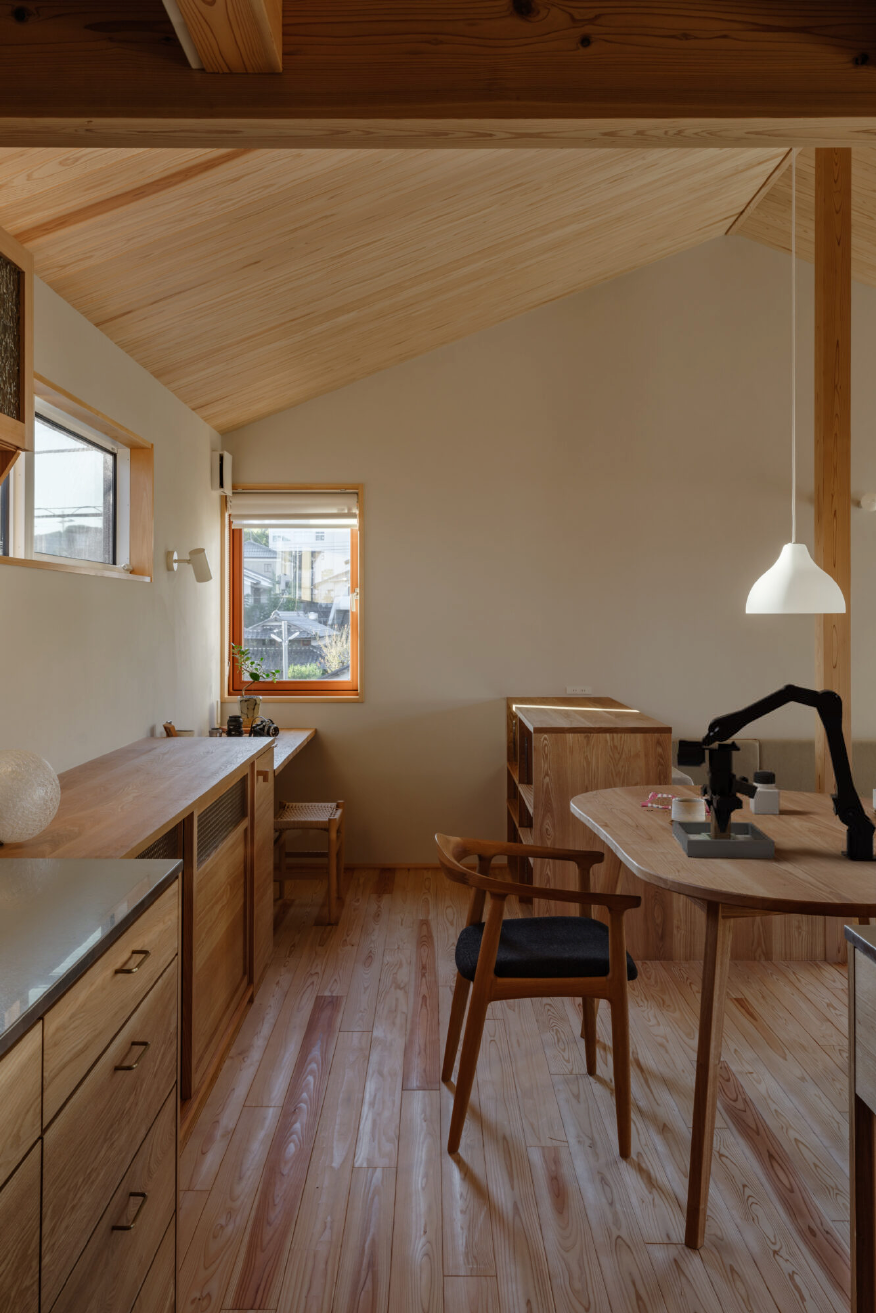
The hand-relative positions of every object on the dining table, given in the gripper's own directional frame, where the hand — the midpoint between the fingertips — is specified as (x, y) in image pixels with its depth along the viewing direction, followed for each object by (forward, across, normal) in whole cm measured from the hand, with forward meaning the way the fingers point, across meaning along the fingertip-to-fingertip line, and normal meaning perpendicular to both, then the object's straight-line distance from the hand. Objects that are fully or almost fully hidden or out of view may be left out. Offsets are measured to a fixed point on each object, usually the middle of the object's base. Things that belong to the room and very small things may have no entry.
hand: (721, 830), depth 208 cm
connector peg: (+2, 0, 0) cm, 2 cm away
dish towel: (+5, +47, 0) cm, 47 cm away
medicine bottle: (+4, +42, -22) cm, 48 cm away
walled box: (+4, 0, 0) cm, 4 cm away
